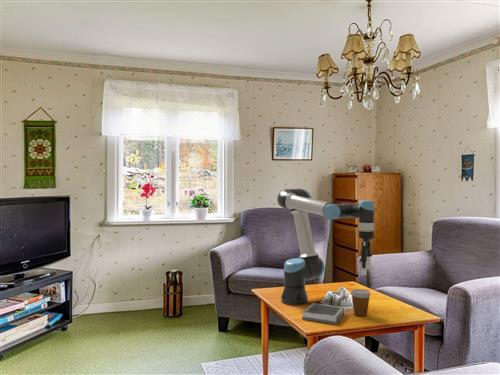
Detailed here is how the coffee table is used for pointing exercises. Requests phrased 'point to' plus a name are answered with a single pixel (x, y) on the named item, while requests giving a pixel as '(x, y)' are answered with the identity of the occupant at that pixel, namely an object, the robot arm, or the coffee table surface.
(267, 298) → the coffee table surface
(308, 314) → the tray
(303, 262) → the robot arm
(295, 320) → the coffee table surface
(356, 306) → the disposable coffee cup
